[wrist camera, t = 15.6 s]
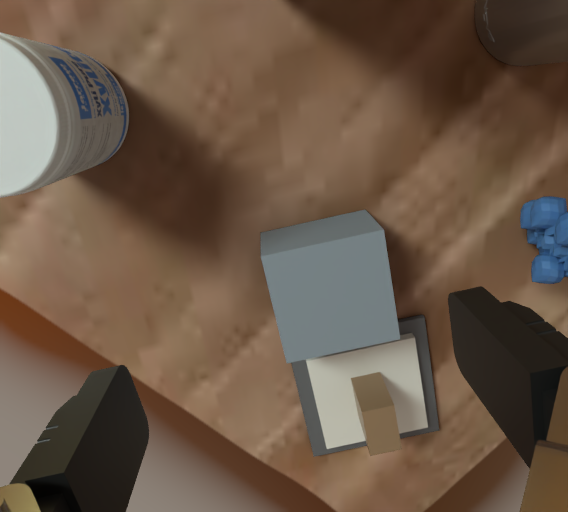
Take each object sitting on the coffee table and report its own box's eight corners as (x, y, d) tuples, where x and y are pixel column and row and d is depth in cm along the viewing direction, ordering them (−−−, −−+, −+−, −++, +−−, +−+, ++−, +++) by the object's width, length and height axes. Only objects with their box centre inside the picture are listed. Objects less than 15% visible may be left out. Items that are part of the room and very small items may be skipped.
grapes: (463, 217, 45) (531, 258, 34) (521, 167, 44) (612, 192, 33) (532, 297, 48) (616, 359, 37) (588, 252, 47) (693, 302, 36)
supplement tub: (151, 94, 41) (95, 94, 27) (100, 188, 43) (23, 233, 29) (44, 24, 38) (-79, -16, 25) (-4, 126, 41) (-141, 143, 27)
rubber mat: (422, 314, 48) (424, 317, 48) (437, 426, 53) (439, 430, 52) (287, 343, 49) (287, 346, 48) (313, 452, 53) (313, 456, 53)
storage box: (365, 209, 45) (383, 229, 38) (380, 305, 48) (400, 339, 41) (260, 232, 45) (260, 256, 38) (283, 326, 48) (286, 363, 41)
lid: (411, 332, 48) (434, 367, 42) (425, 421, 52) (447, 465, 46) (305, 356, 49) (311, 394, 42) (325, 442, 52) (334, 489, 46)
